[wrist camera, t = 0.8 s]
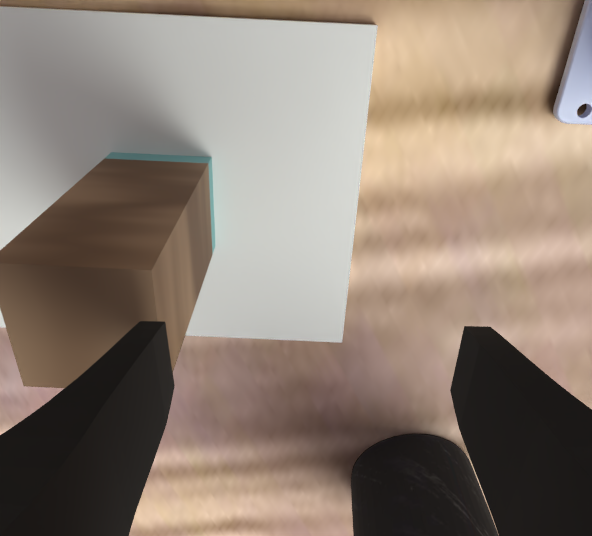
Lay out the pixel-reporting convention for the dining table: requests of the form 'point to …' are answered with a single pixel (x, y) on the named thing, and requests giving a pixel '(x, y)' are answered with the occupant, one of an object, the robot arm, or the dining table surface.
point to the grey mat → (203, 143)
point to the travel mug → (417, 490)
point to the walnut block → (108, 263)
